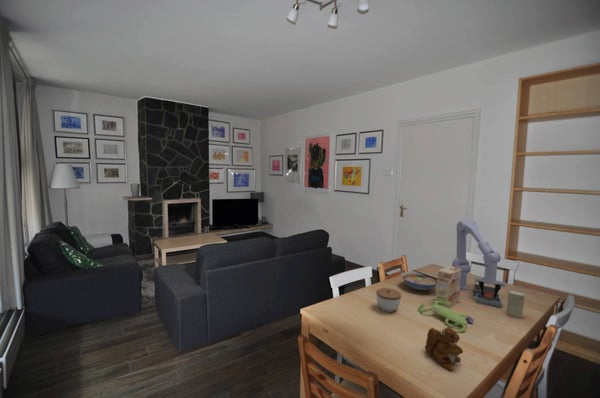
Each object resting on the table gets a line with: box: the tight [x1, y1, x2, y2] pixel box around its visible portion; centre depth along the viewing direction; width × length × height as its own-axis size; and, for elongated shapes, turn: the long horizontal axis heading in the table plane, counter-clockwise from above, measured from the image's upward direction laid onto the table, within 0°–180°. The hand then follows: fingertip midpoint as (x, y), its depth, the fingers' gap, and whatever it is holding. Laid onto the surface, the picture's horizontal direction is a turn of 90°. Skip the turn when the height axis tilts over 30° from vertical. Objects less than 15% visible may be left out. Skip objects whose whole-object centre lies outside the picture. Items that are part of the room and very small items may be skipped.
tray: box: [475, 293, 503, 309], centre depth 164 cm, size 12×9×2 cm
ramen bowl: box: [400, 269, 438, 292], centre depth 182 cm, size 25×23×8 cm
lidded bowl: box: [376, 287, 402, 313], centre depth 153 cm, size 13×13×11 cm
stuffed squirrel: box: [423, 325, 464, 372], centre depth 112 cm, size 10×14×13 cm
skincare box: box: [505, 290, 525, 319], centre depth 148 cm, size 6×4×12 cm
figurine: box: [416, 297, 475, 334], centre depth 145 cm, size 18×27×6 cm
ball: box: [483, 291, 494, 300], centre depth 164 cm, size 5×5×5 cm
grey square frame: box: [472, 283, 500, 298], centre depth 175 cm, size 13×13×4 cm
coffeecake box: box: [435, 265, 461, 309], centre depth 162 cm, size 15×7×20 cm, turn 129°
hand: (488, 296), depth 164 cm, fingers open, 5 cm apart
